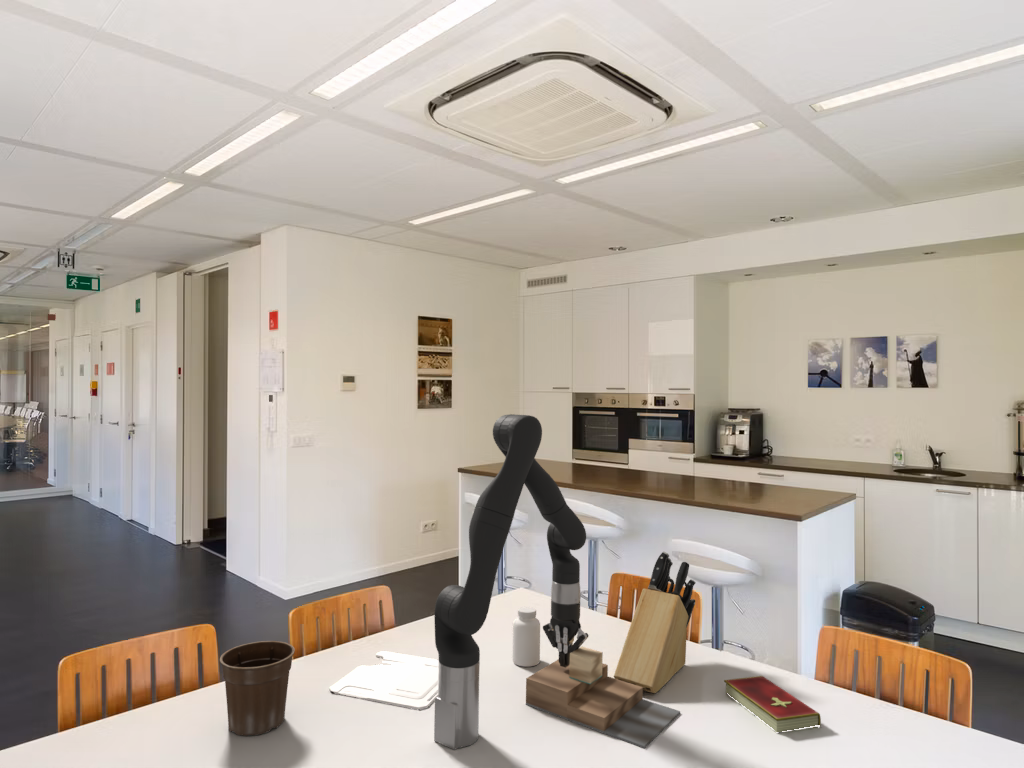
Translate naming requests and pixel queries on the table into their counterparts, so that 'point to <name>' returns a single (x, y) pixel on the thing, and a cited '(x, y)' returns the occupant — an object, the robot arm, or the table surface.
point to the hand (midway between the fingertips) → (564, 665)
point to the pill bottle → (526, 638)
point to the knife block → (658, 629)
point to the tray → (393, 681)
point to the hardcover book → (772, 703)
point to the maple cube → (585, 665)
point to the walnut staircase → (599, 704)
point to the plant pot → (256, 685)
